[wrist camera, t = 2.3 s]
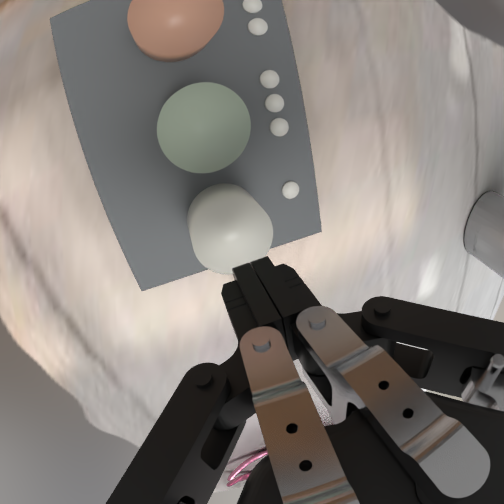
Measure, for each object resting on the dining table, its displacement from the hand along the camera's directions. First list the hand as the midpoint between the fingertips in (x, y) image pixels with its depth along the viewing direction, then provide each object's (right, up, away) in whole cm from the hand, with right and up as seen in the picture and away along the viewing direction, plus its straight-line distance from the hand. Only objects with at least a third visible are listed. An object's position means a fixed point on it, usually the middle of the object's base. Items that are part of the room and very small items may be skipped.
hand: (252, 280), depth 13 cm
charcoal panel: (-4, +10, +6) cm, 12 cm away
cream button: (-2, +3, +6) cm, 7 cm away
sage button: (-3, +8, +3) cm, 9 cm away
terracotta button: (-4, +13, 0) cm, 14 cm away
